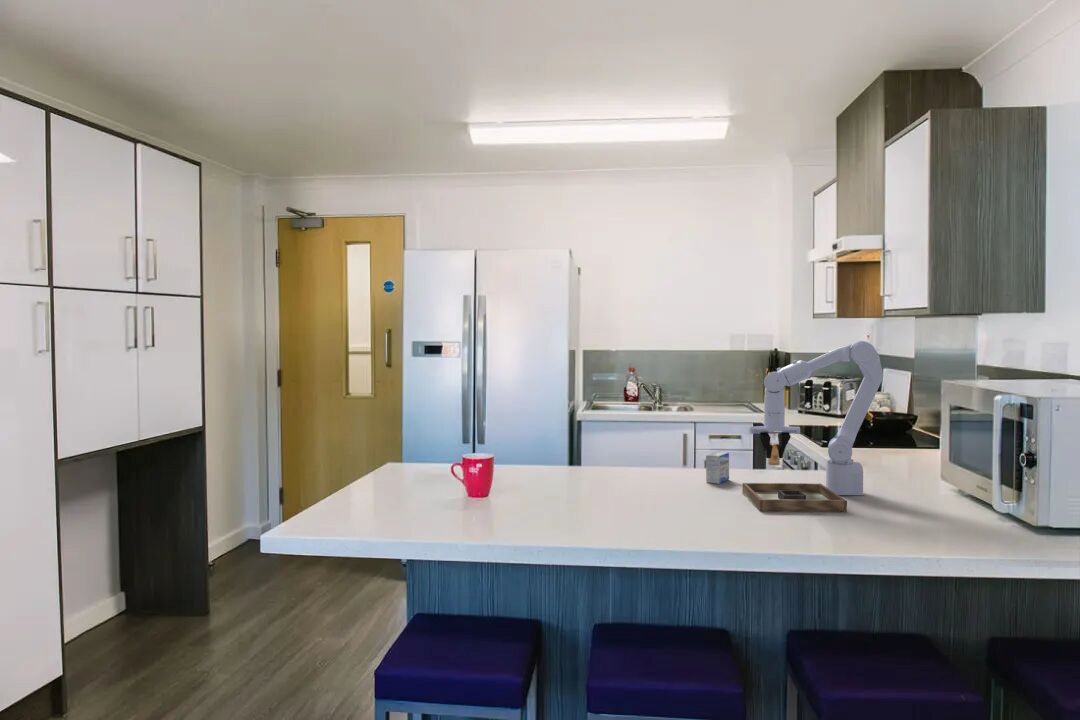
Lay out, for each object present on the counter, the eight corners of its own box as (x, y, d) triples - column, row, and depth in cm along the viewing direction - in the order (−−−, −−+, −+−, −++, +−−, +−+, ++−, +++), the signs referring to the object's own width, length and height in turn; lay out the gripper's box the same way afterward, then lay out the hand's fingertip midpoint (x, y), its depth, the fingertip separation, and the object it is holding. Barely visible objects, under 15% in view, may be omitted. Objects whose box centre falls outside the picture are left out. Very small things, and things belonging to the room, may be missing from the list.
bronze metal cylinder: (777, 463, 208) (778, 443, 208) (780, 465, 205) (781, 445, 205) (767, 463, 208) (767, 443, 208) (769, 465, 205) (770, 445, 205)
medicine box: (719, 484, 211) (719, 456, 211) (705, 482, 214) (705, 454, 214) (729, 479, 218) (729, 452, 217) (715, 478, 220) (716, 451, 220)
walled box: (820, 493, 198) (820, 483, 198) (846, 512, 178) (847, 500, 178) (742, 493, 200) (742, 482, 200) (759, 511, 180) (759, 499, 180)
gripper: (795, 410, 209) (794, 455, 210) (746, 410, 210) (746, 455, 211) (802, 413, 202) (802, 459, 203) (752, 413, 203) (751, 459, 204)
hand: (774, 457), depth 206 cm, fingers closed on bronze metal cylinder, 3 cm apart
